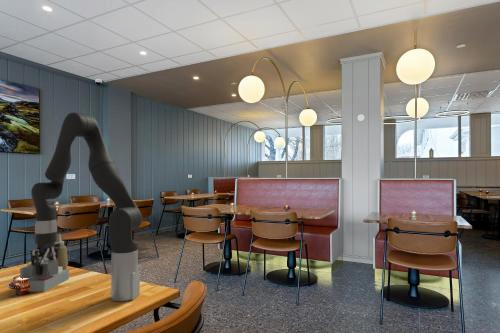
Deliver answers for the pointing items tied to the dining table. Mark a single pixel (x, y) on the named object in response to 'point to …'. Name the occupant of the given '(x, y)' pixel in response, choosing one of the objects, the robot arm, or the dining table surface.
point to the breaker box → (43, 284)
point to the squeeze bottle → (62, 253)
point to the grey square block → (47, 268)
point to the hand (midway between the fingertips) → (45, 272)
